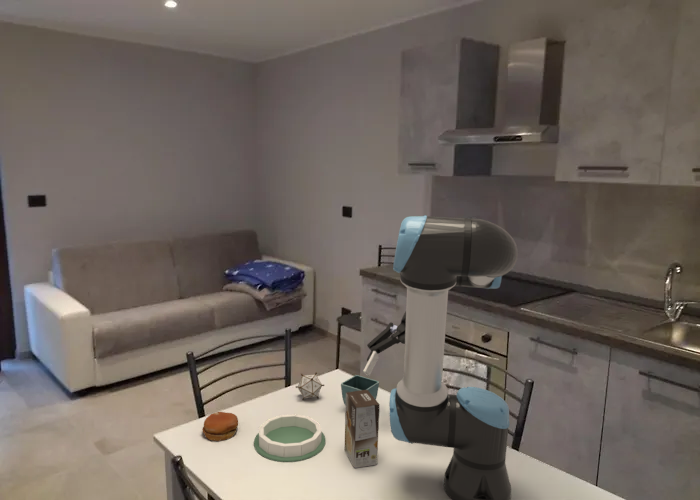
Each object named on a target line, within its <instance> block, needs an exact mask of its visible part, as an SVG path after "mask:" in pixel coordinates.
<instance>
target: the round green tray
mask: <svg viewBox="0 0 700 500" xmlns="http://www.w3.org/2000/svg"><path fill="white" fill-rule="evenodd" d="M253 445H254V447H253V448H254V450H255V451H256V452H257V453H258V454H259V455H260V456H261V457H264V458H265V459H267V460H271V461H274V462H278V463H279V462H281V463H293V462H294V463H295V462H301V461H304V460H308V459H311V458H313V457H315V456H316V455H318V454H319V453H321V452H322V451H323V449H324V448H325V445H326V436H325V433H323V430H322V427H321V424H320V422H318V421H317V420H315V419H314V418H312V417H311V416H307V415H303V414H295V413H294V414H279V415H277V416H274V417H271V418H269V419H266V420H265V421H264V422H263V423H261V425H260V426H259V427H258V433H257V434H256V435H255V437H254V441H253Z"/></svg>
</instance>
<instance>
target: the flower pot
mask: <svg viewBox="0 0 700 500" xmlns="http://www.w3.org/2000/svg"><path fill="white" fill-rule="evenodd" d="M340 387H341V395H342V401H343V404H344V406H345V407H346V392H353V391H360V390H368V391H369V392H370V393H371V395H372V396H373V397H374V398H375V400H376V401H377V397H378V391H379V387H380V381H379V380H376V379H373V378H369V377H365V376H361V375H359V374H358V375H353V376H352V377H349V379H347V380H345V381H343V382H341V383H340Z"/></svg>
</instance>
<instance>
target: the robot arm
mask: <svg viewBox="0 0 700 500" xmlns="http://www.w3.org/2000/svg"><path fill="white" fill-rule="evenodd" d="M518 251H519V250H518V246H517V243H516V242H515V239H514V238H513V237H512V236H511V234H510V233H509V232H508V231H506V229H504V228H502V227H501V226H499V225H498V224H497V223H493V222H491V221H488V220H485V219H480V218H468V217H467V218H464V217H444V216H429V215H420V216H418V215H415V216H414V215H413V216H406V217H405V218H404V219H402V221H401V224H400V228H399V231H398V237H397V242H396V247H395V251H394V252H395V253H394V258H393V268H392V270H393V272H396V273H398V274H400V275H399V280H400V283H401V284H402V285H403V286H404V287H406V305H405V306H406V307H405V308H406V309H405V312H404V313H403V316H402V318H401V319H400V323H399V325H396V324H395V323H393V322H392V321H391V322H389V323H388V325H386V328H384V329H383V330H382V331H381V332H380V333H379V334H378V335H376V336H375V337H374V338H373V339H372V340H371V341H369V342H368V343H367V348H368V349H369V350H370V353H369V354H368V356H367V358H366V365H365V367H364V369H363V371H362V372H363V373H364V374H365V375H366V376H367V377H370V376H371V374H372V371H373V369H375V366H376V364H377V362H378V360H379V358H380V355H379V354H380V353H382V352H384V351H385V350H387V349H389V348H391V347H392V346H394V345H396V344H397V345H398V344H404V359H403V361H404V362H403V378H402V379H401V380H399V381H398V383H397V384H396V388H395V387H394V388H392V389H391V391H390V393H389V394H390V395H389V402H388V403H389V405H388V406H389V407H388V408H389V413H388V414H389V424H390V425H389V426H390V431H391V435H392V436H393V438H394V439H395V440H397V441H401V442H403V443H404V442H405V443H408V444H419V445H428V446H434V447H436V446H437V447H443V448H451V449H453V453H452V456H451V458H450V460H449V463H448V465H447V466H446V467H447V468H446V470H445V471H444V474H443V489H444V492H445V494H446V495H447V496H448V497H449V498H451V500H511V498H512V497H511V496H512V494H511V493H512V485H511V483H510V479H509V473H508V469H507V465H506V458H507V445H508V436H509V435H508V434H509V428H510V424H511V423H510V407H509V405H508V403H507V402H506V401H505V400H504V399H503V398H502V397H501V396H499V395H498V394H496V393H495V392H493V391H490V390H487V389H484V388H481V387H476V386H467V387H465V386H463V387H460V389H458V391H457V393H456V394H452V393H451V394H450V393H449V389H448V387H447V385H446V384H445V383H444V382H443V369H444V357H445V356H444V355H445V343H446V341H445V340H446V327H447V326H446V325H447V313H448V311H447V310H448V300H449V291H450V290H451V289H452V288H454V287H463V288H464V287H467V288H477V289H478V288H479V289H486V290H489V289H494V290H495V289H499V288H500V287H501V283H502V278H503V276H505V275H507V274H508V273H509V272H511V270H512V269H513V268H514V267H515V265H516V263H517V261H518V253H519V252H518Z"/></svg>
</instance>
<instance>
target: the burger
mask: <svg viewBox="0 0 700 500" xmlns="http://www.w3.org/2000/svg"><path fill="white" fill-rule="evenodd" d="M238 426H239V419H238V416H237V415H236V414H235V413H232V412H225V411H224V412H223V411H217V412H214V413H211V414H209V415H208V416H207V417H206V418H205V419H204V422H203V427H202V433H203V435H204V436H205V438H206V439H208V440H210V441H214V442H215V441H216V442H219V441H227V440H229V439H231V438H233V437H234V436H235V434H236V432H237V430H238V428H239V427H238Z"/></svg>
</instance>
